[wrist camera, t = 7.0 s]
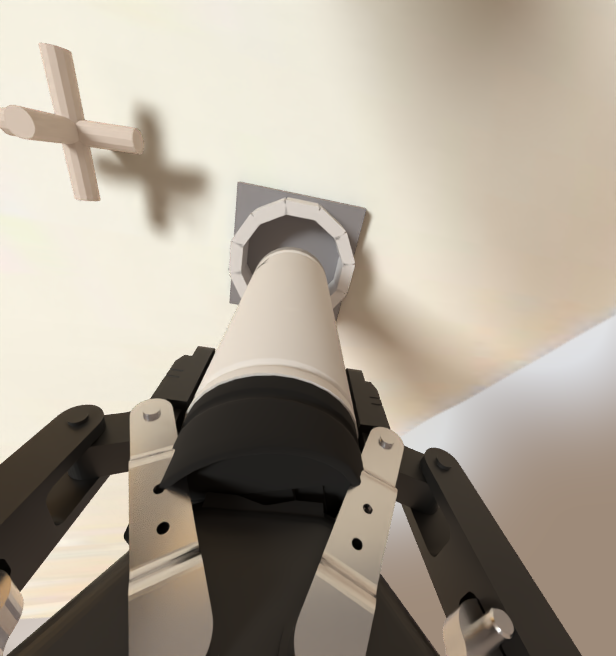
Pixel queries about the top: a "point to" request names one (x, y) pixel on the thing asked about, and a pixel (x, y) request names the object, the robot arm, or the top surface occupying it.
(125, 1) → the top surface
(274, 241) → the duct collar
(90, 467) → the robot arm
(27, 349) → the top surface
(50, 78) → the pipe connector
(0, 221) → the top surface
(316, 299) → the travel mug
